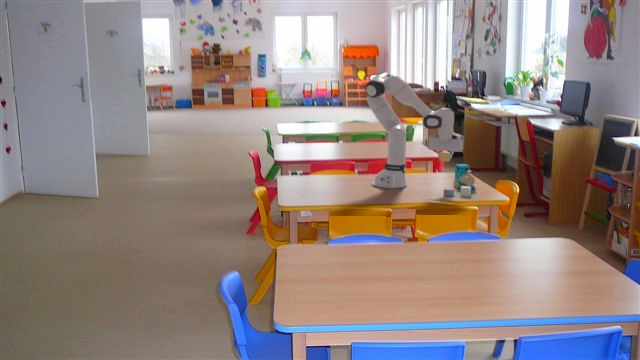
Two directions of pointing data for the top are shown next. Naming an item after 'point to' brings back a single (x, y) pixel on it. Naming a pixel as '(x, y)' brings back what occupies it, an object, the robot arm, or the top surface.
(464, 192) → the white block
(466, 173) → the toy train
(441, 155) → the mustard block
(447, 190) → the blue block
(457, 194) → the build plate
